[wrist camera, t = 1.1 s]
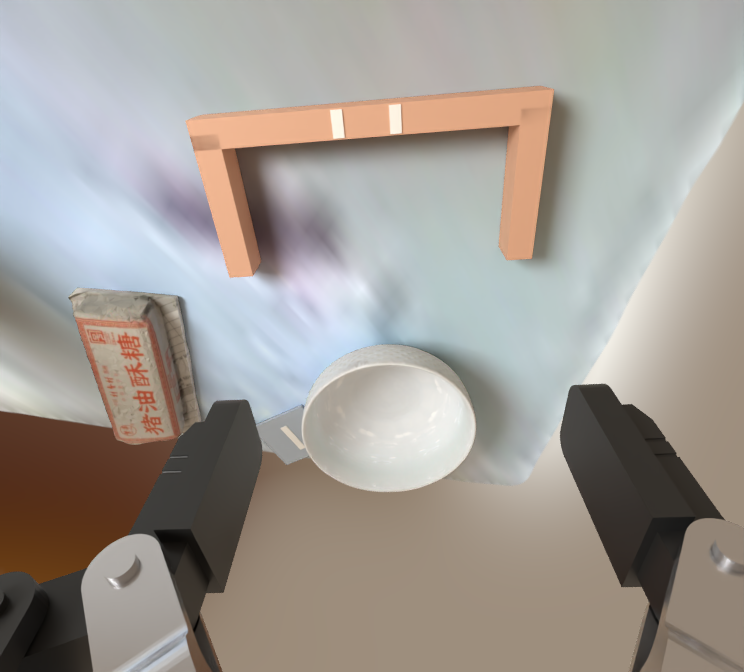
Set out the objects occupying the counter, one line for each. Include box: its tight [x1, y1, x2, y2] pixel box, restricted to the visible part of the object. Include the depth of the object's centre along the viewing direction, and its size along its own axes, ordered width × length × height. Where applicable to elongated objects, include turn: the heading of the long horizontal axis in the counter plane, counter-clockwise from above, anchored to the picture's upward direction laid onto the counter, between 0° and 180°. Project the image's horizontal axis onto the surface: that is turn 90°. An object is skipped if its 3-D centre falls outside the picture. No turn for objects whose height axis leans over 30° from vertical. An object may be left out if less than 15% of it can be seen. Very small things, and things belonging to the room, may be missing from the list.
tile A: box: [256, 405, 309, 465], centre depth 51 cm, size 7×7×1 cm
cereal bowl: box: [301, 344, 476, 492], centre depth 44 cm, size 17×17×7 cm
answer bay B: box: [186, 86, 554, 277], centre depth 34 cm, size 12×25×3 cm, turn 94°
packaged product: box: [68, 288, 201, 445], centre depth 45 cm, size 18×5×10 cm
